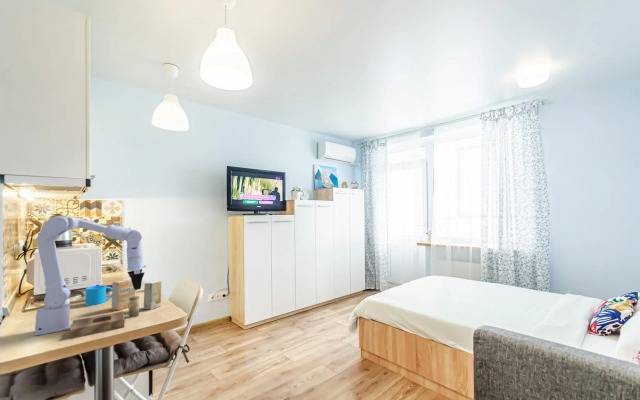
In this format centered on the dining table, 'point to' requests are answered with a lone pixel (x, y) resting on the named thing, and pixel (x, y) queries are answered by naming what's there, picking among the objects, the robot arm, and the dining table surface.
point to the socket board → (97, 324)
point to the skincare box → (152, 295)
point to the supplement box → (122, 294)
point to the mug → (96, 295)
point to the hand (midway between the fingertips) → (136, 287)
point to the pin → (134, 306)
